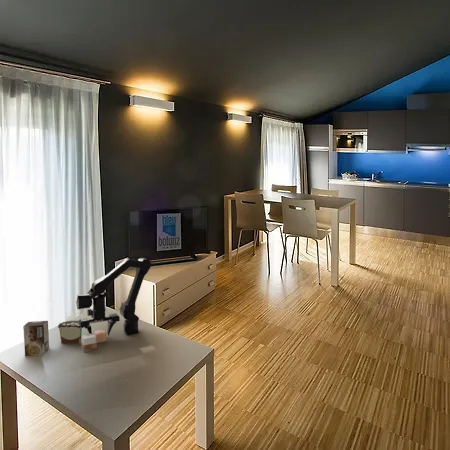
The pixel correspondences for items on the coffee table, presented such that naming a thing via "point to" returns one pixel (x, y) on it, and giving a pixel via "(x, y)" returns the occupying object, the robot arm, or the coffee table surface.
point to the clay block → (100, 335)
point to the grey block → (88, 339)
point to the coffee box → (36, 338)
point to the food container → (70, 332)
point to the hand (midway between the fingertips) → (99, 336)
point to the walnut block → (89, 347)
